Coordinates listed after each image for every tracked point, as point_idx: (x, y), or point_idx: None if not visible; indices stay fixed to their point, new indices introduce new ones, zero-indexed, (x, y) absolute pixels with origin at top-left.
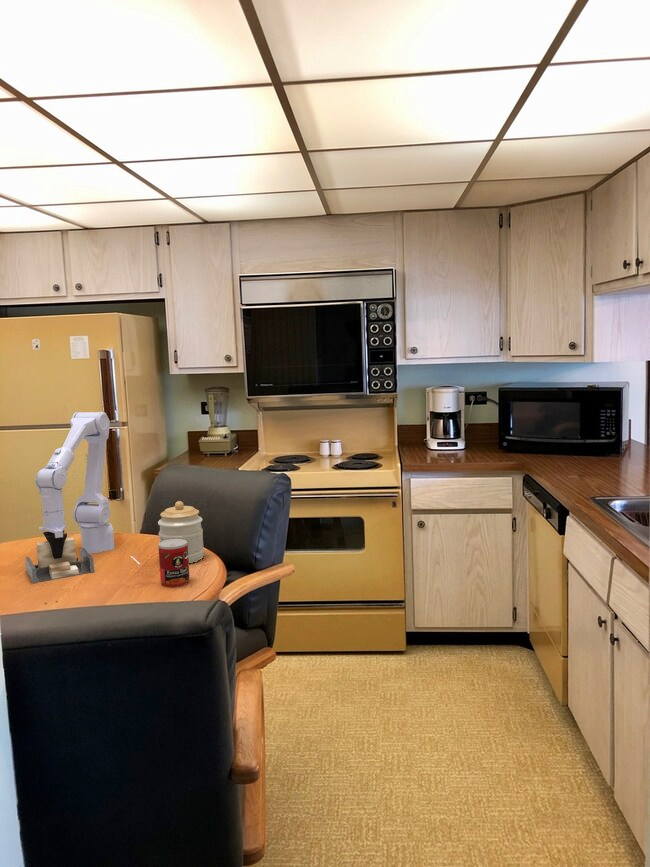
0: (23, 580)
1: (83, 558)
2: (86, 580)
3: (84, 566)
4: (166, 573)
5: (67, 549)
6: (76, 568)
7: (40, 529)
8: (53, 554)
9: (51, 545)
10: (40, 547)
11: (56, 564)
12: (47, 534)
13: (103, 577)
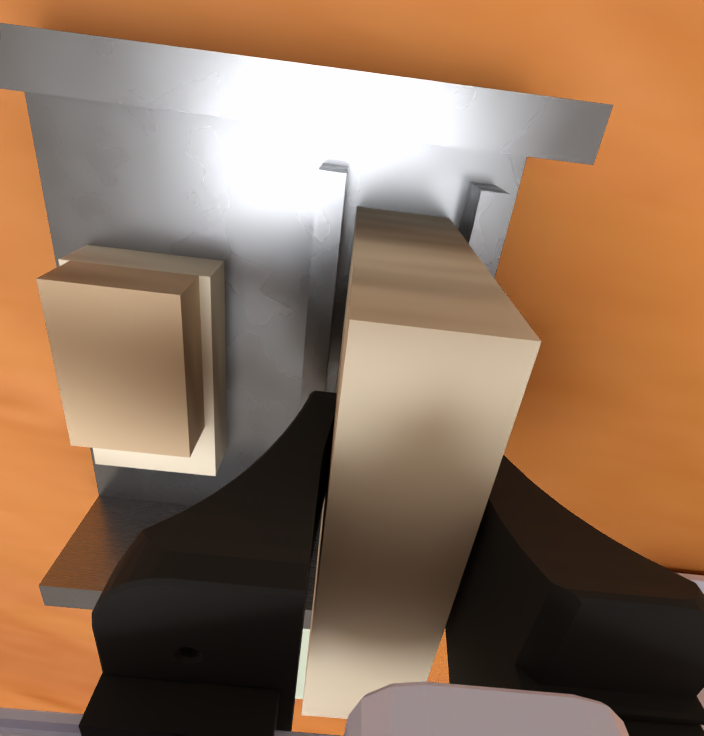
0: (342, 11)
1: None
2: (33, 435)
3: None
4: None
5: (318, 557)
6: (112, 457)
7: (380, 730)
8: (299, 415)
9: (232, 484)
10: (345, 341)
11: (149, 357)
12: (529, 624)
13: (50, 518)
